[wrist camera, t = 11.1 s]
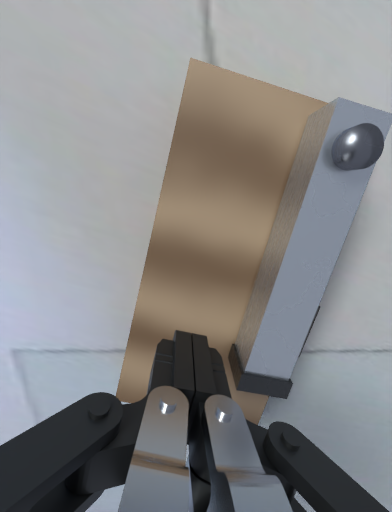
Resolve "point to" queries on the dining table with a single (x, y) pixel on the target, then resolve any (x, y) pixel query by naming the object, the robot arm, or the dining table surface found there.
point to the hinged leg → (306, 241)
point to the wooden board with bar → (214, 218)
